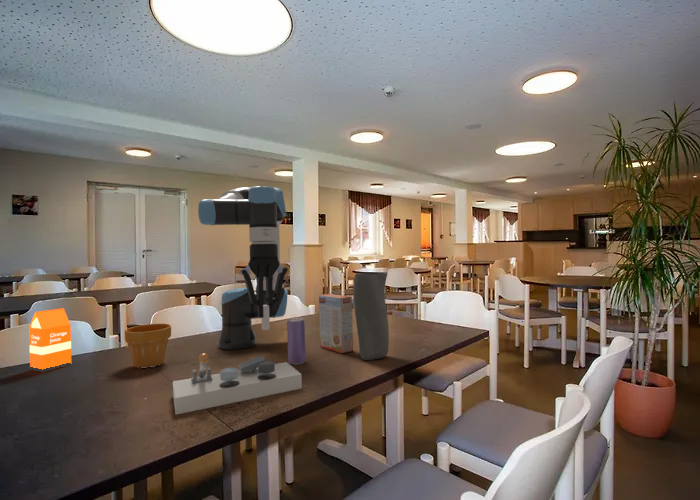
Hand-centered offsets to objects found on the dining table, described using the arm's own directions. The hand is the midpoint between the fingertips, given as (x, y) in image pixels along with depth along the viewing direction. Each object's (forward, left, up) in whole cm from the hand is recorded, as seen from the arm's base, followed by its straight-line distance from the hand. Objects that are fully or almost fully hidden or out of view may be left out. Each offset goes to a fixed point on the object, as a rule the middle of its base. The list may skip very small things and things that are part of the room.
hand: (265, 328), depth 102 cm
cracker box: (-29, +35, -18) cm, 48 cm away
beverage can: (-21, +16, -18) cm, 31 cm away
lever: (-7, -16, -12) cm, 21 cm away
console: (-4, -7, -17) cm, 19 cm away
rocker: (-7, -2, -12) cm, 14 cm away
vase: (-12, +41, -17) cm, 46 cm away
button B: (0, -10, -12) cm, 15 cm away
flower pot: (-46, -29, -18) cm, 57 cm away
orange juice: (-61, -59, -18) cm, 86 cm away
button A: (0, 0, -12) cm, 12 cm away
